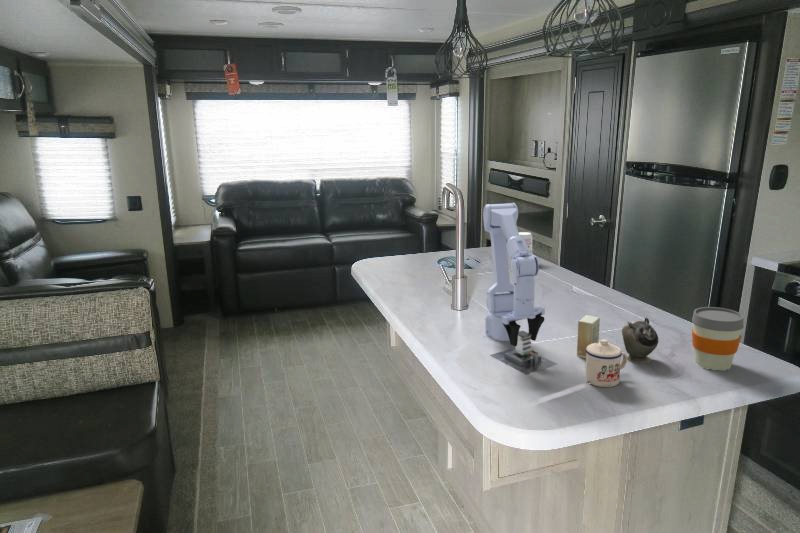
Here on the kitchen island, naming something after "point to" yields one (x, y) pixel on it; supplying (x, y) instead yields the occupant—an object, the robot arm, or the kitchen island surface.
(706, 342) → the reusable coffee cup
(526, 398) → the kitchen island surface
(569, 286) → the kitchen island surface
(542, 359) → the stand base
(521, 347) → the grey ribbed block
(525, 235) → the supplement can
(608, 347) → the teacup with lid
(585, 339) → the skincare box
